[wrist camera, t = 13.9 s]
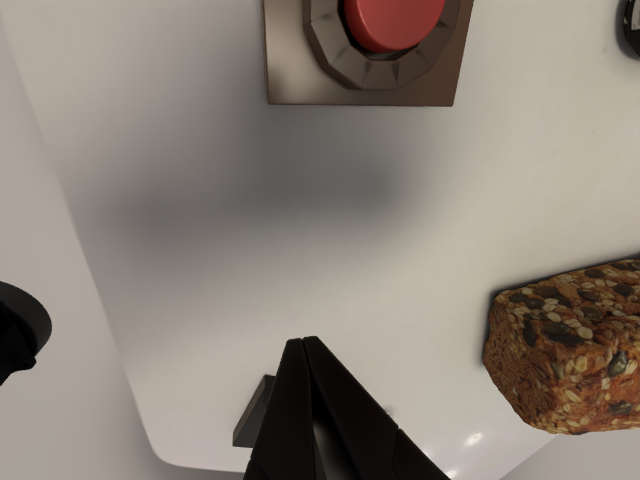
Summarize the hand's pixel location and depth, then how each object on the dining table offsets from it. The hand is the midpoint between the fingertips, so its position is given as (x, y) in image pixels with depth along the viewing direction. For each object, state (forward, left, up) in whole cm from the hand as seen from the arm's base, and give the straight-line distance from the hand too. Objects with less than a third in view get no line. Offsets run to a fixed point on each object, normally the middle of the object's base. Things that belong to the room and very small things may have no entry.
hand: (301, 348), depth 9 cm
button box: (+5, +10, -12) cm, 16 cm away
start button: (+5, +10, -9) cm, 14 cm away
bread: (+28, -12, -13) cm, 33 cm away
